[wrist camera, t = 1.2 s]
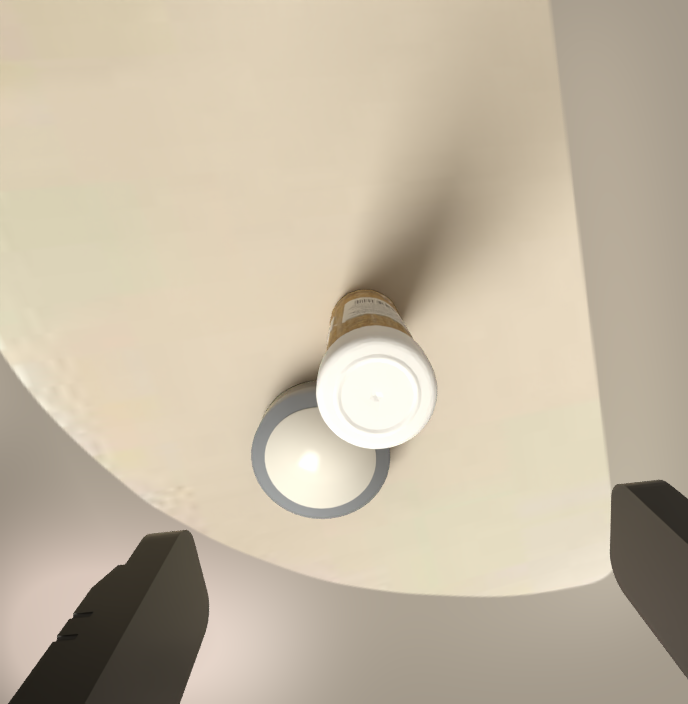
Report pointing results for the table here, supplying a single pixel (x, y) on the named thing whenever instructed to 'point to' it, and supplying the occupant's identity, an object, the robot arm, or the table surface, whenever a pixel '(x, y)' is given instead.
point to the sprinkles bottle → (373, 374)
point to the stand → (313, 460)
